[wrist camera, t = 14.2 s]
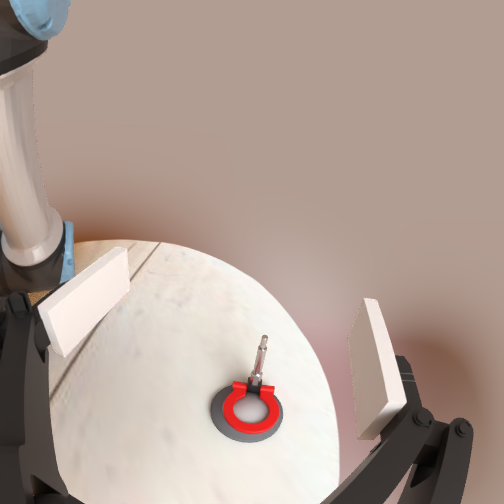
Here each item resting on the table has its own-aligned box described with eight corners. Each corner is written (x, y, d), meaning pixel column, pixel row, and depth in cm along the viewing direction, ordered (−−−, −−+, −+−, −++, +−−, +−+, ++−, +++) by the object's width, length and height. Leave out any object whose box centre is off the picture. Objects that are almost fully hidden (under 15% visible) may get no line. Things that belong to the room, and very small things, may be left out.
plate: (208, 387, 42) (208, 383, 41) (273, 384, 44) (274, 381, 44) (214, 444, 32) (214, 442, 32) (289, 438, 34) (290, 435, 34)
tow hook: (277, 437, 34) (278, 389, 42) (299, 392, 28) (296, 336, 36) (219, 431, 34) (227, 383, 42) (222, 384, 28) (233, 328, 36)
